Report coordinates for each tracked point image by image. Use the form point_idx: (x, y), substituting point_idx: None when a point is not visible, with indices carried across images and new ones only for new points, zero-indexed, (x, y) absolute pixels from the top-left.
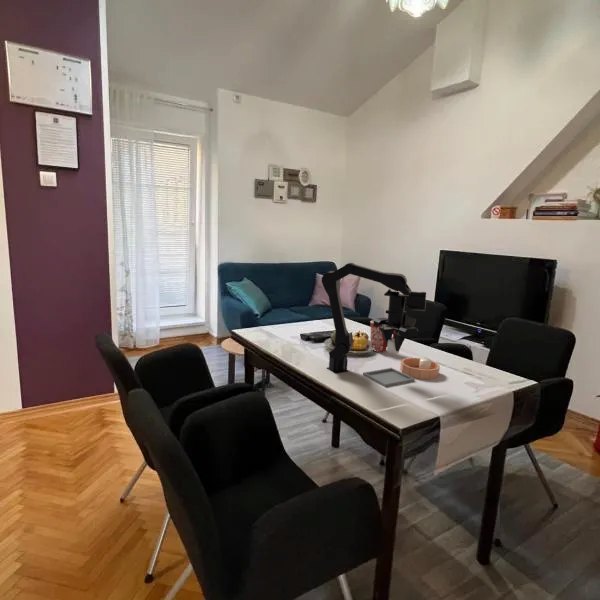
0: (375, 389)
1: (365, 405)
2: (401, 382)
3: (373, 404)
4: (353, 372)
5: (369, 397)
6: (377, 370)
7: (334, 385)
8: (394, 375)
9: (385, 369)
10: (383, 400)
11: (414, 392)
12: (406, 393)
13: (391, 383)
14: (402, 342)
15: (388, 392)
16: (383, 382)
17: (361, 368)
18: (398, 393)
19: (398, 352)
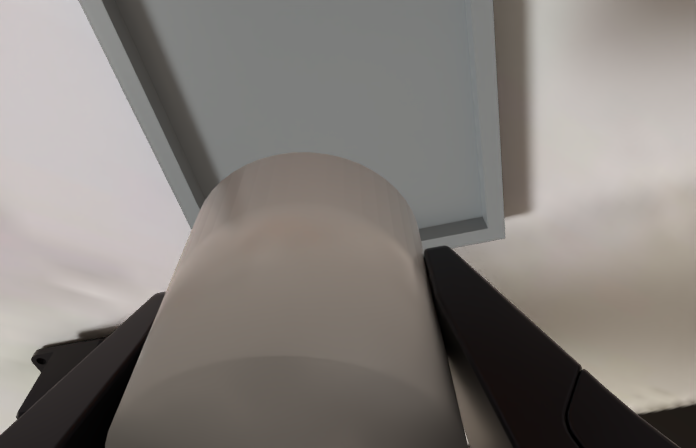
0: (490, 283)
1: (653, 396)
2: (491, 53)
3: (667, 364)
4: (144, 300)
5: (581, 352)
6: (164, 157)
7: None
8: (260, 1)
9: (127, 57)
10: (659, 304)
11: (689, 13)
12: (663, 103)
13: (500, 176)
14: (599, 393)
15: (573, 227)
16: (415, 198)
17: (32, 215)
18: (626, 167)
19: (404, 203)
